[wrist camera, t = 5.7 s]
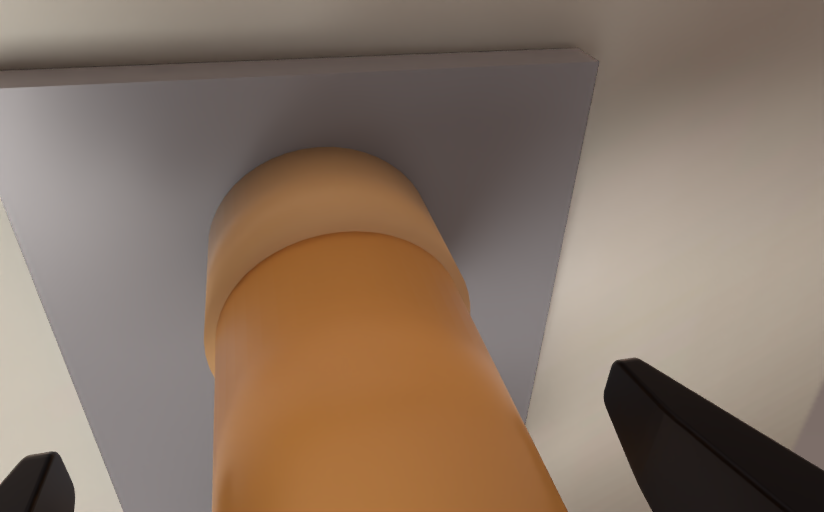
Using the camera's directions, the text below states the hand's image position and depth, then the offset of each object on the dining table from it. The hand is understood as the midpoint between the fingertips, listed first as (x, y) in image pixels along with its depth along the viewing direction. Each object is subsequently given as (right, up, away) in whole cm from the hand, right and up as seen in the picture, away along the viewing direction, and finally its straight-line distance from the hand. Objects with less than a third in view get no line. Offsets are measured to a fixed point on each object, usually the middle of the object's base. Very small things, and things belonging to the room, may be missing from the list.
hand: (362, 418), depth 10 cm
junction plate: (-2, 0, +7) cm, 7 cm away
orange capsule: (0, +1, +2) cm, 2 cm away
